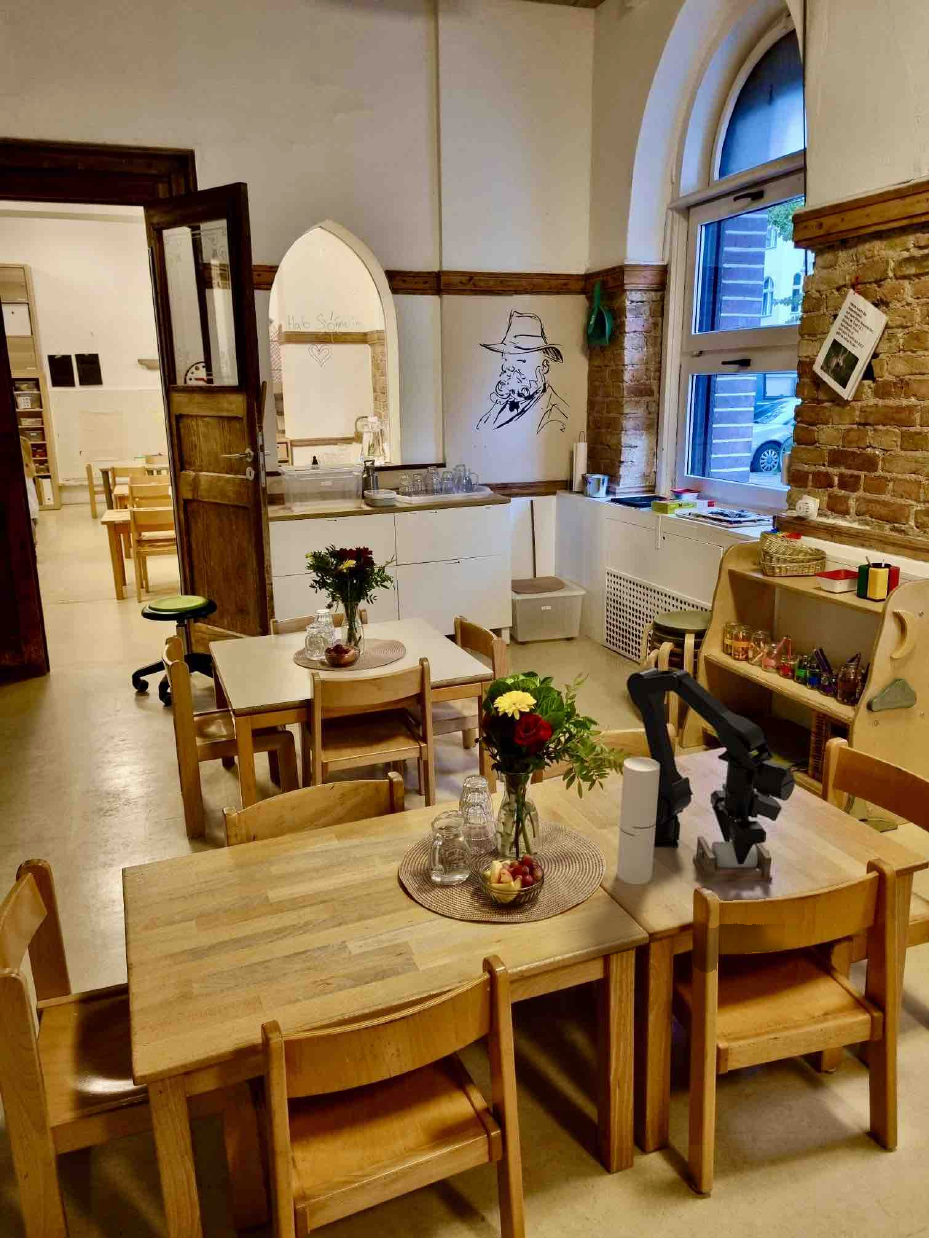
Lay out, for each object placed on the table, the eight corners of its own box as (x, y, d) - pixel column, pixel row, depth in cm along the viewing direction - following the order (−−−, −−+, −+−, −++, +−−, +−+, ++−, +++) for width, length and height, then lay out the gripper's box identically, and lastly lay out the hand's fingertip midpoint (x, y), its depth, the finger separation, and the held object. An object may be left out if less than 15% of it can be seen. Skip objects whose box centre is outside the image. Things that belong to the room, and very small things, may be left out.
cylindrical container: (651, 886, 187) (659, 772, 180) (616, 881, 188) (623, 769, 182) (651, 868, 193) (659, 758, 187) (617, 864, 195) (624, 755, 188)
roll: (715, 874, 190) (718, 852, 188) (708, 857, 195) (711, 836, 193) (756, 874, 190) (760, 852, 188) (748, 857, 195) (752, 836, 193)
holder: (702, 881, 189) (704, 857, 187) (691, 859, 197) (693, 836, 196) (773, 881, 189) (776, 857, 187) (759, 859, 198) (761, 836, 196)
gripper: (795, 804, 179) (787, 876, 183) (764, 765, 197) (757, 831, 201) (739, 804, 179) (732, 875, 183) (712, 765, 197) (706, 831, 201)
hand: (733, 852), depth 192 cm, fingers open, 9 cm apart
